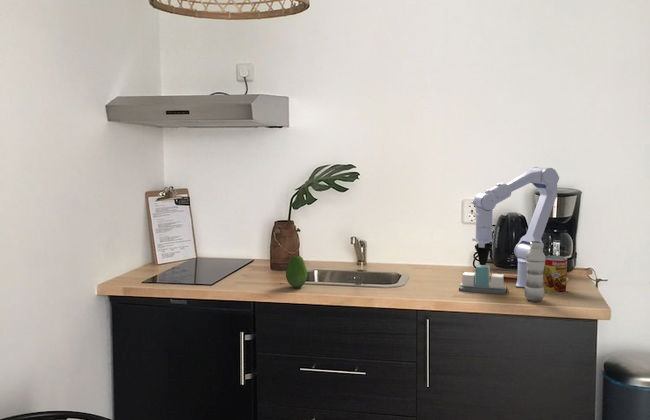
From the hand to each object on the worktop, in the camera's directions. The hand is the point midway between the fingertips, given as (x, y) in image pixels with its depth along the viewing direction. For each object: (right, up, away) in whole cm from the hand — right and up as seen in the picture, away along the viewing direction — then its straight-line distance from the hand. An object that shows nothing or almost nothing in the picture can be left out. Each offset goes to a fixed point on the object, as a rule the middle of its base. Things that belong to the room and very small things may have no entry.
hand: (483, 264), depth 226 cm
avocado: (-68, -10, +8) cm, 69 cm away
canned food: (+25, -10, -2) cm, 27 cm away
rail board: (0, -9, +1) cm, 9 cm away
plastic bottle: (+14, -11, -14) cm, 23 cm away
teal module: (0, -8, +1) cm, 8 cm away
